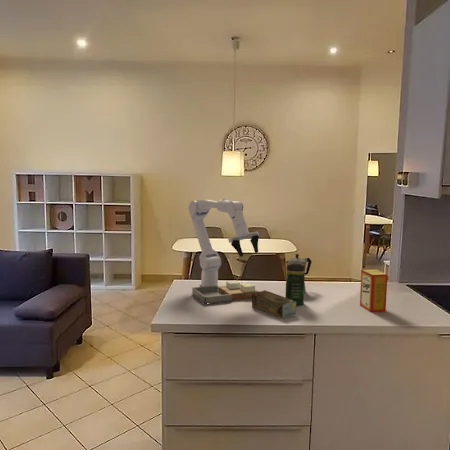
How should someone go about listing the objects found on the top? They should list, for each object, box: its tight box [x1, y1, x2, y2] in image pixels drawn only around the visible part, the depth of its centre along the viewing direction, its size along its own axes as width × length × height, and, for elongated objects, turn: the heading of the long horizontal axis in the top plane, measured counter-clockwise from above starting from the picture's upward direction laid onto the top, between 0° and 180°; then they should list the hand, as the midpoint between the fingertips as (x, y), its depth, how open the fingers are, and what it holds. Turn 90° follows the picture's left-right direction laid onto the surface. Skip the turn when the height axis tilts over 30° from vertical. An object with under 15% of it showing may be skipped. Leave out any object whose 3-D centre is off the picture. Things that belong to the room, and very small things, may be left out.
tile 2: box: [240, 283, 256, 292], centre depth 192 cm, size 5×5×2 cm
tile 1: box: [225, 280, 241, 289], centre depth 197 cm, size 5×5×2 cm
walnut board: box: [218, 284, 260, 302], centre depth 195 cm, size 14×14×3 cm
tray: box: [191, 285, 232, 305], centre depth 190 cm, size 17×12×3 cm
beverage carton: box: [251, 289, 297, 319], centre depth 172 cm, size 8×19×7 cm, turn 36°
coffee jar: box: [284, 260, 306, 307], centre depth 182 cm, size 10×8×19 cm
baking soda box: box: [359, 269, 388, 313], centre depth 176 cm, size 10×6×16 cm
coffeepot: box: [285, 253, 312, 293], centre depth 204 cm, size 15×9×18 cm, turn 118°
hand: (249, 254), depth 187 cm, fingers open, 7 cm apart
